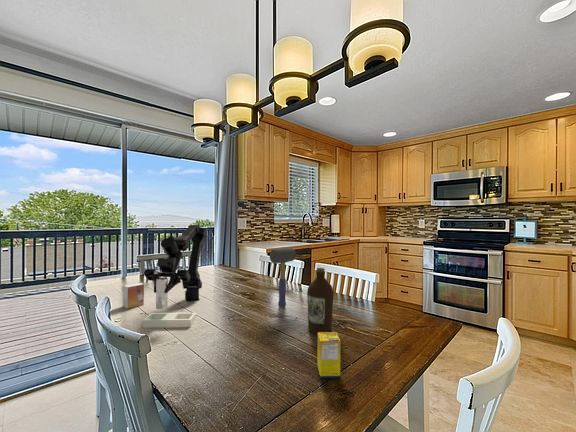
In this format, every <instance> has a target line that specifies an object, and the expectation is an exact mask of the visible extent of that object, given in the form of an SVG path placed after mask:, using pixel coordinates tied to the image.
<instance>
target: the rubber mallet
mask: <svg viewBox="0 0 576 432" xmlns="http://www.w3.org/2000/svg"><path fill="white" fill-rule="evenodd" d="M296 256H297V255H296V250H295V249H294V248H293V247H278V248H273V249H271V250H270V252H269V260H270V262H271V263H273V264H279V266H280V267H279V281H278V303H277V304H278V307H279V308H280V309H285V308H286V306H287V301H286V292H287V291H286V290H287V279H286V263H289V262H293V261H294V260H295V259H296Z"/></svg>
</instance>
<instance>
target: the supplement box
mask: <svg viewBox="0 0 576 432" xmlns="http://www.w3.org/2000/svg"><path fill="white" fill-rule="evenodd" d="M316 354H317V356H316V357H317V358H316V359H317V365H316V368H317V371H319V372H318V375H320V376H319V379H320V378H321V379H337V378H336V377H340V378H341V338H340V337H339V334H338V333H337V331H334V332H333V331H331V332H318V334H317V353H316Z"/></svg>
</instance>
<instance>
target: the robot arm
mask: <svg viewBox="0 0 576 432" xmlns="http://www.w3.org/2000/svg"><path fill="white" fill-rule="evenodd" d="M207 236H208V231H207V230H206V229H205V228H203V227H202V226H199V225H197V224H190V225H189V226H188V227H187V228H186V230H185V231H184V232H183V233H182V234H181V235H179V236H176V237H174V236H173V235H168V237H167V238H164V239H163V240H162V241H161V242H160V246H161V248H162V250H163V251H164V253H165V255H167V258H165V257H163V258H161V257H160V258H157V261H156V267H159V270H156V269H155V268H146V269H144V271H143V272H142V273H143V276H144V277H145V278H146V279H147V281H153V293H154V294H156V279H158V278H169V280H168V285H167V288H166V290H165V293H168V292H170V291H171V290H172V289H173V288H174V287H176V286H177V285H178V284H181V283H182V289H183V290H184V289H186V290H185V291H184V293H185V294H184V299H185V301H186V302H194V301H200V298H199V297H200V290H201V289H202V286H203V282H202V280H201V275H200V273H199V269H198V268H199V264H200V257H201V252H202V251H201V250H202V245H203V244H204V243H205V241H206V239H207ZM190 241H191V242H192V246H191V252H190V253H191V254H190V258H189V264H188V269H179V268H180V266H179V264H180V262H181V260H184V256H183V252H186V251H187V250H188V249H189V247H190ZM182 251H183V252H182ZM168 294H169V293H168Z"/></svg>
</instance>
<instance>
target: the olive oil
mask: <svg viewBox="0 0 576 432" xmlns="http://www.w3.org/2000/svg"><path fill="white" fill-rule="evenodd" d="M306 293H307V294H306V295H307V325H308V327H307V328H308V329H309V330H308V331H309V332H310V333H311V332H312V334H314V333H315V334H314V335H318V332H333V331H332V330H333V329H332V327H333V310H334V309H333V307H334V297H335V295H334V293H335V292H334V288H333V286H332V285H331V283H330V282H329V281H328V280H327V278H326V272H325V268H324V267H317V268H316V278H315V279H314V280H313V281H312V282H311V283H309V285H308V288H307V292H306Z"/></svg>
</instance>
